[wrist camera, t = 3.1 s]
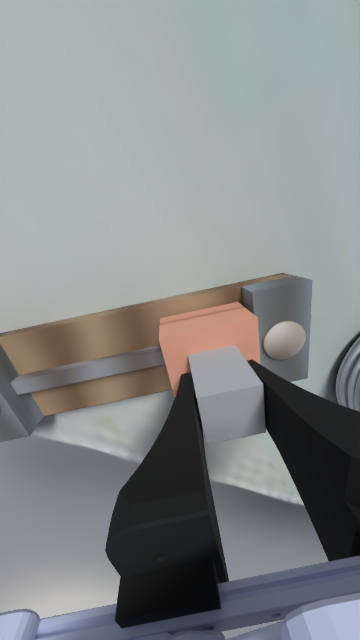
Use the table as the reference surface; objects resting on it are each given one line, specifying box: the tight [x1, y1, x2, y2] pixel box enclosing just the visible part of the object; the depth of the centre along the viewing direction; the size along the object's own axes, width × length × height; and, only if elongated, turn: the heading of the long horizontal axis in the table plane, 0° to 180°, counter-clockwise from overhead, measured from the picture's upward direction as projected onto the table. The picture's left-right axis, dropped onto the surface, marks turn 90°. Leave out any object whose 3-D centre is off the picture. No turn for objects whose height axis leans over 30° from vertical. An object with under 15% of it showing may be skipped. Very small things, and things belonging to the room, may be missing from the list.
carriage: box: [159, 302, 266, 444], centre depth 12 cm, size 6×6×7 cm
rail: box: [0, 273, 312, 442], centre depth 16 cm, size 27×8×4 cm, turn 101°
